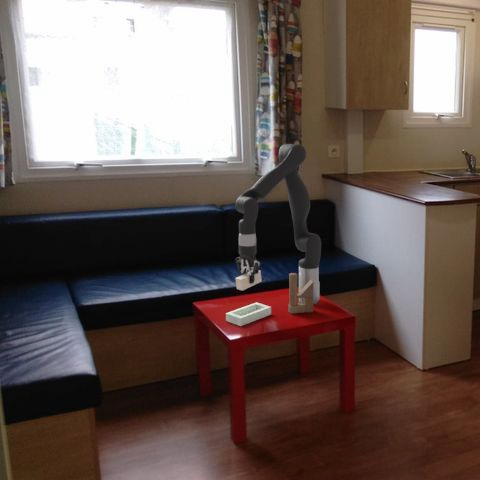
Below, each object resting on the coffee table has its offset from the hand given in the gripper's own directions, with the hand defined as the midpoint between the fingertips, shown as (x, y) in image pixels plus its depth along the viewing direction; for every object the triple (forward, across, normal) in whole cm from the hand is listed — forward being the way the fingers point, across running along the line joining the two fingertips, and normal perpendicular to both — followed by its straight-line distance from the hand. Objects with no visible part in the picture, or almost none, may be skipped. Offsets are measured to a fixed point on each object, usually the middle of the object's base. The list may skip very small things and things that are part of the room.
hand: (248, 282), depth 230 cm
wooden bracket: (+17, -12, -21) cm, 29 cm away
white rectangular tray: (+16, 0, 0) cm, 16 cm away
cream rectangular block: (+2, 0, -1) cm, 2 cm away
